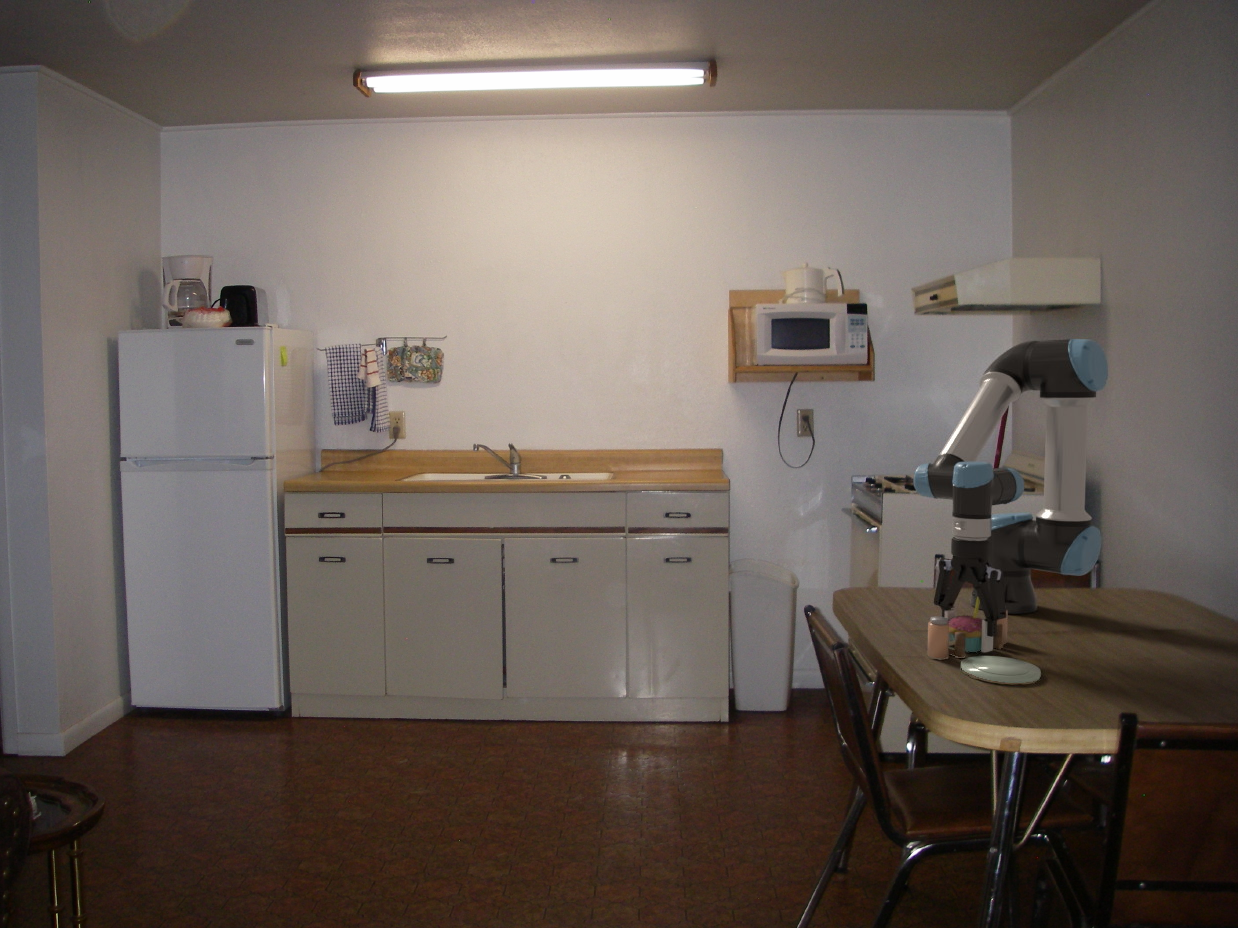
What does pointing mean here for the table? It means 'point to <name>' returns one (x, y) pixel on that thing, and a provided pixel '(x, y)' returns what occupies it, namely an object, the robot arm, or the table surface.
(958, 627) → the cupcake
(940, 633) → the shaker
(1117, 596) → the table surface
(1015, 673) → the plate
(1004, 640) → the shaker
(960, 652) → the rack
